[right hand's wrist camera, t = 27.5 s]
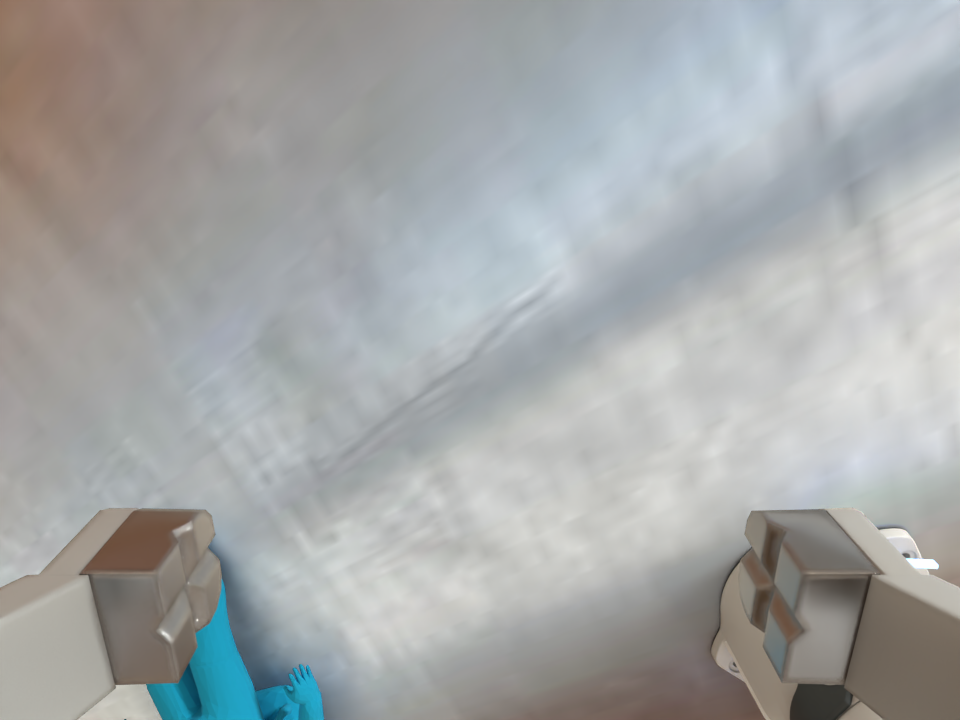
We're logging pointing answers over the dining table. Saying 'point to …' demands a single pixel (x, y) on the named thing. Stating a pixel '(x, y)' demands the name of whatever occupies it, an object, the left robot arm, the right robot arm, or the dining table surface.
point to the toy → (232, 684)
